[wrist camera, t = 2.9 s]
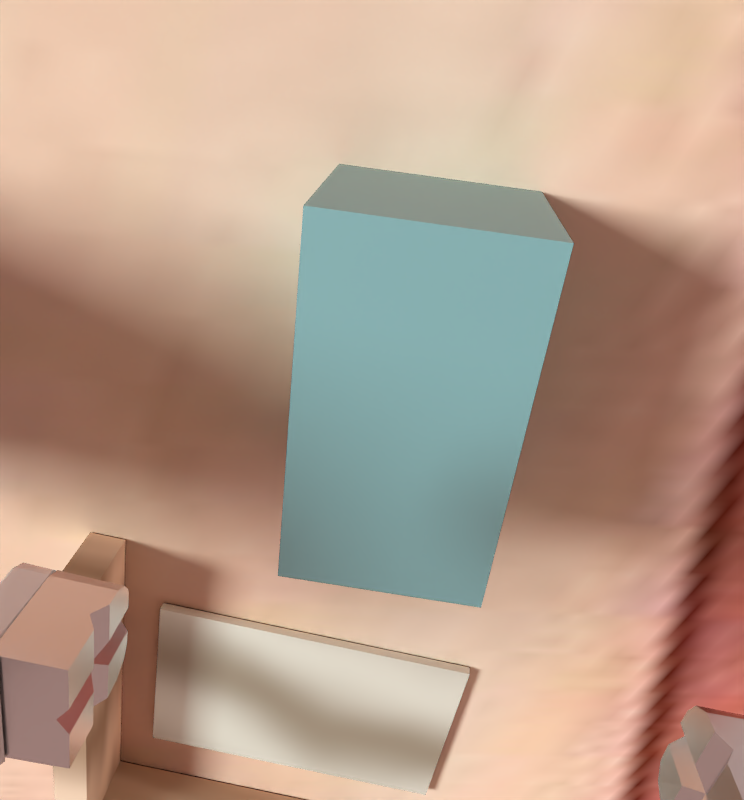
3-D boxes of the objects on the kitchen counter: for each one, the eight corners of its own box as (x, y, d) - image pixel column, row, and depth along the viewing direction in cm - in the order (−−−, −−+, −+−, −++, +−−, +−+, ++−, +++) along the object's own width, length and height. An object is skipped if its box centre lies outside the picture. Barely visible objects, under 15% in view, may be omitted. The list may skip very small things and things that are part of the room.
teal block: (340, 162, 17) (303, 205, 13) (541, 190, 17) (573, 243, 13) (312, 465, 21) (278, 575, 17) (473, 489, 21) (480, 607, 17)
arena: (90, 532, 23) (44, 595, 21) (488, 616, 23) (493, 690, 21) (91, 773, 29) (56, 845, 27) (407, 839, 29) (403, 918, 27)
